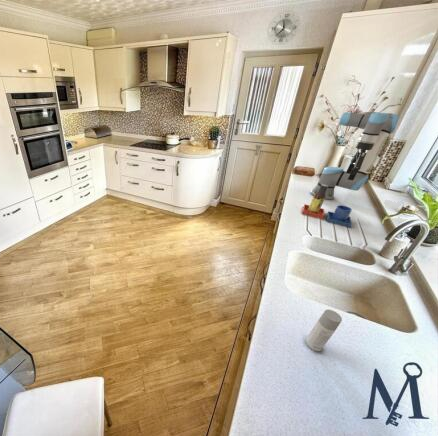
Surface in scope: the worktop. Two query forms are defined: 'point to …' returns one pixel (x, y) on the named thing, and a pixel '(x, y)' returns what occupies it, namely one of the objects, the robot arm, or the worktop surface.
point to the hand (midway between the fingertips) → (349, 176)
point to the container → (323, 330)
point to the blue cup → (341, 213)
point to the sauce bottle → (318, 199)
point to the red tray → (318, 215)
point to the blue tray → (346, 224)
